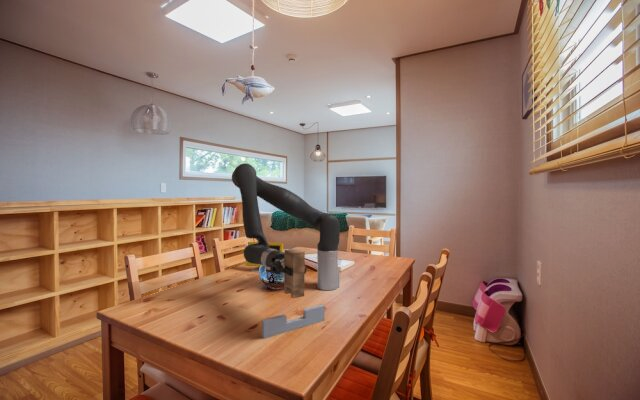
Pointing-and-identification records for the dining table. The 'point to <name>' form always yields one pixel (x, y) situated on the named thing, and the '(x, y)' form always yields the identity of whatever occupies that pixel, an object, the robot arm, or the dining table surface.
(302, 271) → the walnut block
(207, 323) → the dining table surface
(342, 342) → the dining table surface
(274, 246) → the alarm clock
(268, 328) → the slate rail
